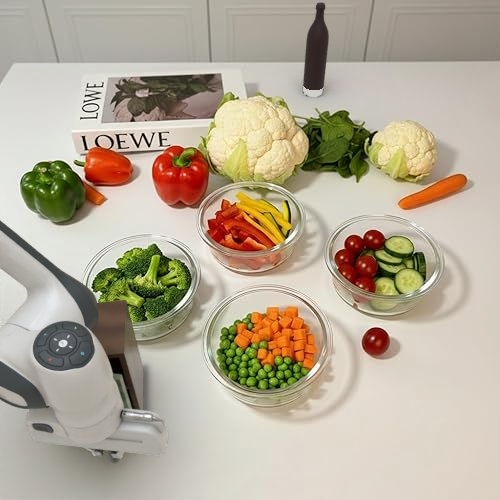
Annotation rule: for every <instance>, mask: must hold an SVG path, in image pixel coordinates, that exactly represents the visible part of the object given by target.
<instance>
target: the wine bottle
mask: <svg viewBox="0 0 500 500" xmlns="http://www.w3.org/2000/svg"><path fill="white" fill-rule="evenodd" d="M325 10H326V3H324V2H316V4H315V17H314V20H313V21H312V23H311V25H310V27H309V29H308V31H307V34H306V42H305V52H304V53H305V55H304V68H303V78H302V79H303V80H302V81H303V82H302V87H303V86H304V87H305V88H306V89H309V90H320V89H322V88H323V87H325V79H326V68H327V60H328V59H327V58H328V50H329V42H330V41H329V38H330V37H329V36H330V33H329V29H328V27H327V24H326V21H325Z"/></svg>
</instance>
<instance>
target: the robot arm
mask: <svg viewBox="0 0 500 500" xmlns="http://www.w3.org/2000/svg"><path fill="white" fill-rule="evenodd" d="M0 270H2V271H3V272H4V273H6V274H7V275H8V276H10V278H12V279H13V280H15V281H16V282H17V283H19V284H20V285H21V286H22V287H24V288H25V289H26V293H27V294H26V295H27V296H26V299H25V300H24V302H23V303H22V304H21V305H20V306H19V307H18V308H17V309H16V311H14V313H13V314H12V315H11V316H10V317H9V318H8V319H7V320H6V322H4V323H3V324H2V325H1V326H0V401H1V402H3V403H5V404H7V405H8V406H12V407H15V408H18V409H23V410H28V411H27V414H26V417H25V421H24V424H25V426H26V427H27V430H28V432H29V434H30V436H31V437H32V438H33V440H34V441H37V442H39V443H41V444H49V445H58V446H67V447H77V448H83V449H85V450H87V451H88V452H91V454H92V456H94V457H103V456H104V452H105V450H111V451H112V453H111V455H112V456H113V458H119V459H120V460H122V459H123V457H124V455H125V453H128V454H129V453H130V454H138V455H149V456H156V457H159V456H162V455H164V454H165V453H166V450H167V447H168V442H169V437H170V432H169V429H168V426H167V425H166V421H165V420H164V418H162V416H161V415H160V414H158V413H157V412H155V411H151V410H144V409H143V410H136V409H126V408H124V405H123V401H122V398H121V395H120V392H119V389H118V386H117V384H116V382H115V380H114V378H113V372H112V368H111V365H110V362H109V360H108V357H107V355H106V353H105V351H104V349H103V347H102V345H101V343H100V342H99V340H98V339H97V338H96V336H95V335H94V334H93V333H92V332H91V331H92V330H93V329H94V328H95V327H96V326H97V324H98V322H99V311H98V304H97V303H98V300H97V297H96V295H95V293H94V292H93V291H92V290H91V289H90V288H89V287H88V286H86V285H85V284H84V283H83V282H82V281H80V280H78V279H76V278H75V277H74V276H72V275H70V274H69V273H67V272H65V271H63V270H62V269H61V268H60V267H58V266H57V265H55V264H54V263H53V262H52V261H51V260H50V259H48V258H47V257H46V256H44V255H43V254H42V253H41V252H40V251H38V250H37V249H36V248H35V247H34V246H32V245H31V244H30V243H29V242H28V241H26V240H25V238H23V237H21V236H20V234H19V233H17V232H16V231H14V230H13V229H12V228H10V226H8V225H7V224H6V223H4V222H3V221H2V220H0Z"/></svg>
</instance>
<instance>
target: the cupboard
mask: <svg viewBox="0 0 500 500" xmlns="http://www.w3.org/2000/svg"><path fill="white" fill-rule="evenodd" d="M97 304H98V311H99V322H98V324H97V326H96V327H95V328H94V329H93V330H92V331H91V332H92V333H93V334H94V335H95V336H96V338H97V339H98V340H99V342H100V343H101V345H102V347H103V349H104V351H105V353H106V355H107V357H108V360H109V362H110V365H111V368H112V372H113V374H122V377H123V381H124V384H125V387H126V391H127V394H128V397H129V400H130V404H131V407H132V409H136V410H144V386H145V385H144V382H145V381H144V380H145V379H144V373H145V369H144V366H143V362H142V357H141V354H140V350H139V345H138V342H137V337H136V333H135V329H134V326H133V322H132V317H131V314H130V309H129V306H128V302H127V300H126V299H120V300H113V301H112V300H111V301H101V302H97Z"/></svg>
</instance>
